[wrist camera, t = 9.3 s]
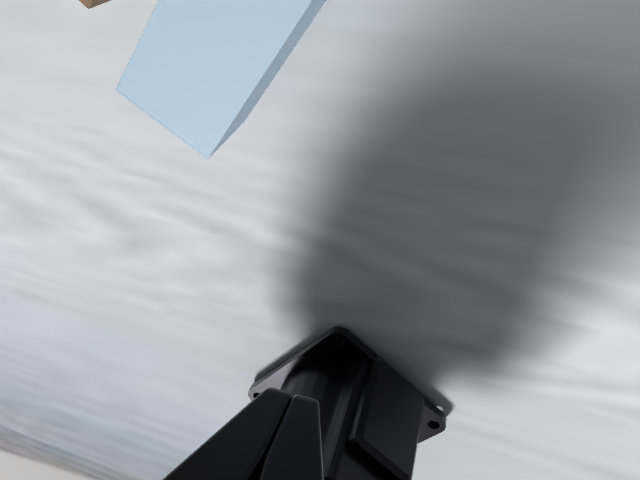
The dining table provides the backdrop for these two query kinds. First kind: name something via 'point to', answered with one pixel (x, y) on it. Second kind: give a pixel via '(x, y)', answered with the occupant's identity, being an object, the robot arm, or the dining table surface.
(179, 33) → the leg
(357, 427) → the robot arm
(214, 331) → the dining table surface
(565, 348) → the dining table surface
